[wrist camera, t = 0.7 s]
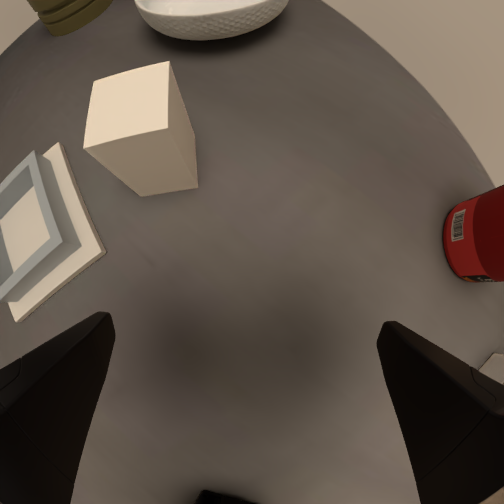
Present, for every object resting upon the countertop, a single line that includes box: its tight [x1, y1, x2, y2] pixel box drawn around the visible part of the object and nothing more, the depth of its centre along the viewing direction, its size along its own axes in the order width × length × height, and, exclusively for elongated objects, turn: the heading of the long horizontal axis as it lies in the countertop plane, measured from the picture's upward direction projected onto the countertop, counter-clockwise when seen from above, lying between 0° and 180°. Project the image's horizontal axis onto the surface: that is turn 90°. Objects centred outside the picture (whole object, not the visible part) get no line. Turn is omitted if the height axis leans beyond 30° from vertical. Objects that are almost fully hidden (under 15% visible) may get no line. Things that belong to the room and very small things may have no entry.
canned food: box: [443, 185, 504, 282], centre depth 18 cm, size 8×8×11 cm
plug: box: [83, 61, 198, 197], centre depth 19 cm, size 5×5×10 cm
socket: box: [0, 142, 107, 322], centre depth 21 cm, size 13×13×4 cm
